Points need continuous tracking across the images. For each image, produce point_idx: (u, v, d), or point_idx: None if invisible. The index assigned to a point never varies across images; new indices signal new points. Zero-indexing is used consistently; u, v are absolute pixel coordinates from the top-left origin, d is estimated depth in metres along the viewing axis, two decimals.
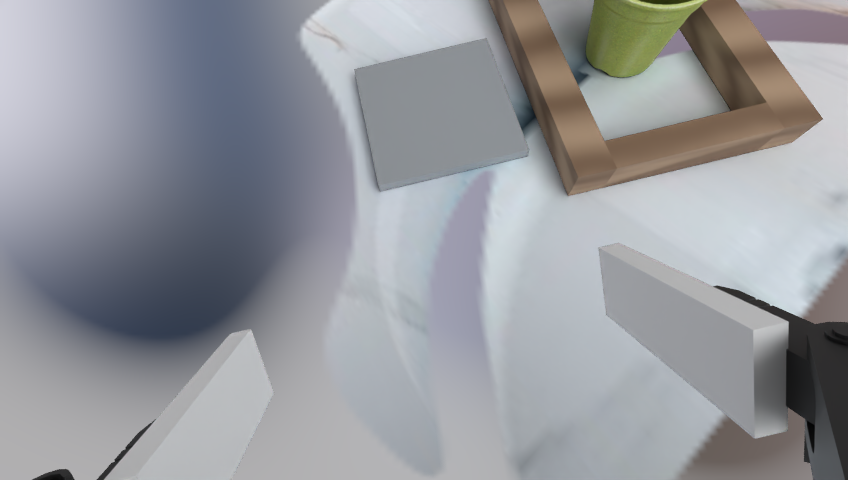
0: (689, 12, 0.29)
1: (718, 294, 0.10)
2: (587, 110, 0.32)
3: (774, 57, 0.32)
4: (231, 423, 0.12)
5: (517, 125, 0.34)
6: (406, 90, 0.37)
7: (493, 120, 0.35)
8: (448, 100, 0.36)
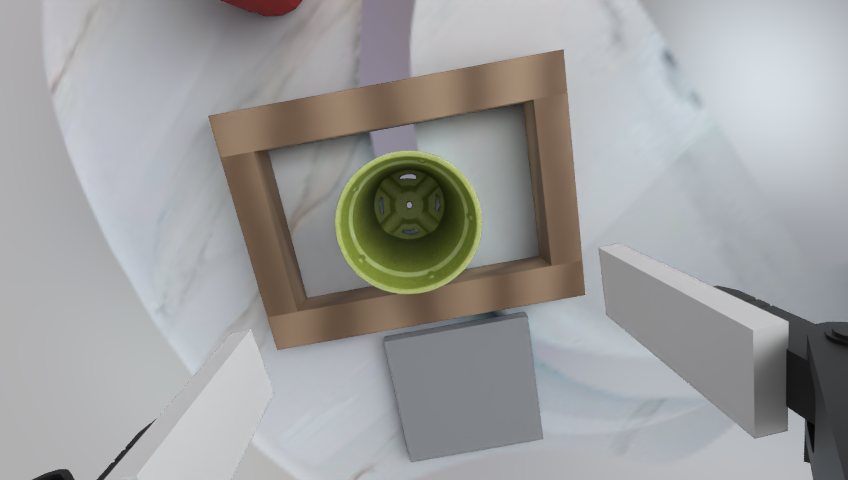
0: (466, 195, 0.27)
1: (718, 294, 0.10)
2: (514, 274, 0.33)
3: (476, 69, 0.29)
4: (231, 423, 0.12)
5: (499, 323, 0.36)
6: (443, 417, 0.38)
7: (490, 343, 0.36)
8: (460, 381, 0.37)
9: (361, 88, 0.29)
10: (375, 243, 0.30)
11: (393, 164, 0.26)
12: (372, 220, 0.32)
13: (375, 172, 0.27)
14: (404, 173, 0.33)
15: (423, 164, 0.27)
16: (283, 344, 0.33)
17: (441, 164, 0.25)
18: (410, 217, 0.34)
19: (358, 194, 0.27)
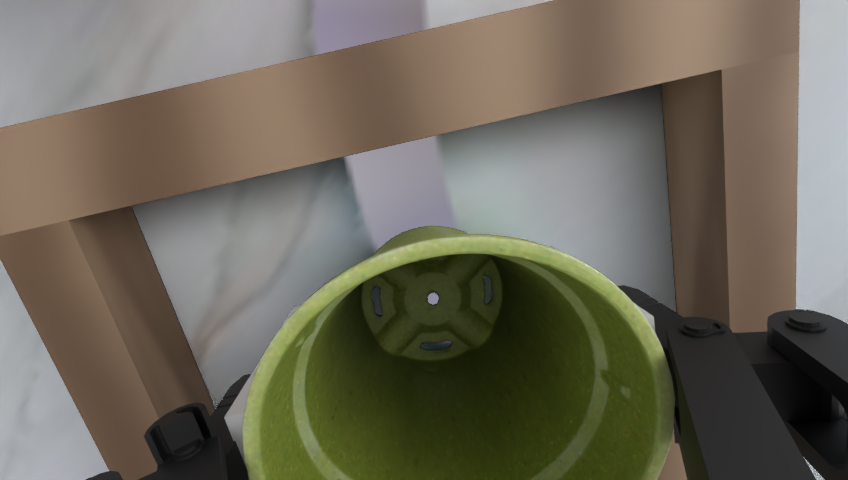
0: None
1: None
2: None
3: (592, 1, 0.12)
4: None
5: None
6: None
7: None
8: None
9: (315, 58, 0.12)
10: (368, 409, 0.14)
11: None
12: (359, 341, 0.15)
13: None
14: None
15: None
16: None
17: (563, 271, 0.08)
18: (435, 320, 0.17)
19: (316, 337, 0.10)
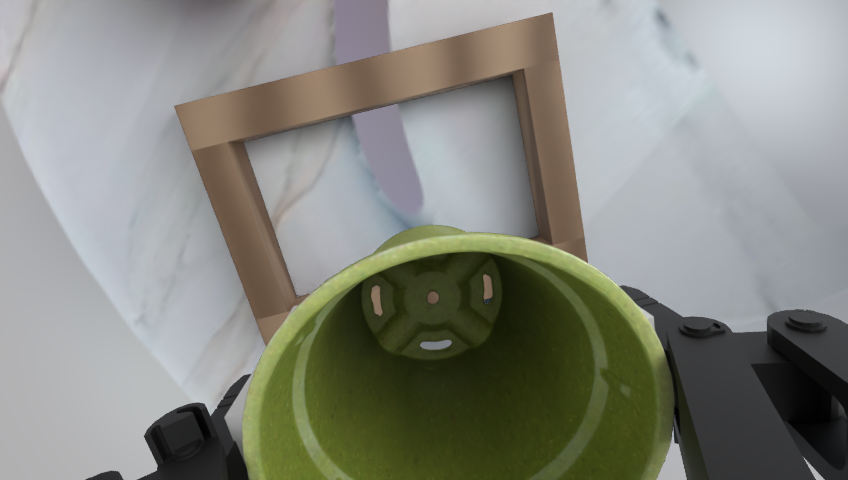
0: None
1: None
2: None
3: (461, 38, 0.27)
4: None
5: None
6: None
7: None
8: None
9: (339, 66, 0.27)
10: (368, 409, 0.14)
11: None
12: (359, 340, 0.15)
13: None
14: None
15: None
16: None
17: (563, 269, 0.08)
18: (434, 319, 0.17)
19: (316, 335, 0.10)
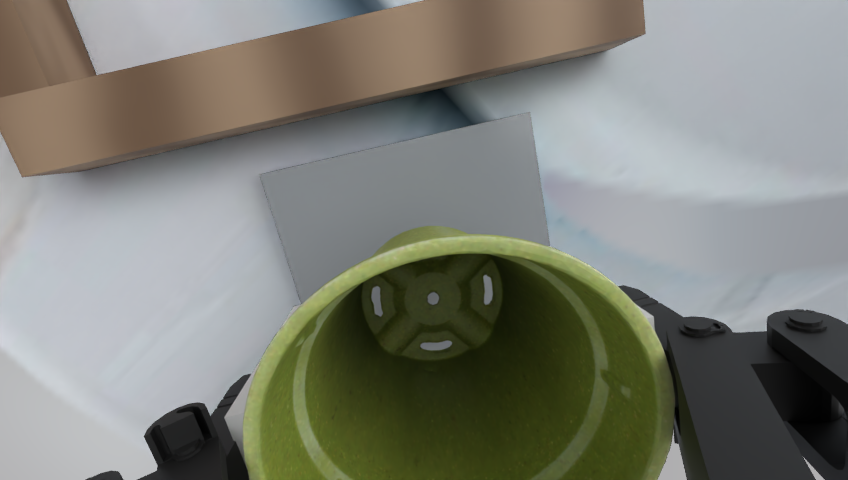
0: None
1: None
2: None
3: None
4: None
5: (477, 128, 0.19)
6: None
7: (462, 172, 0.19)
8: None
9: None
10: (368, 409, 0.14)
11: None
12: (359, 340, 0.15)
13: None
14: None
15: None
16: (33, 164, 0.16)
17: (563, 271, 0.08)
18: (435, 320, 0.17)
19: (316, 336, 0.10)
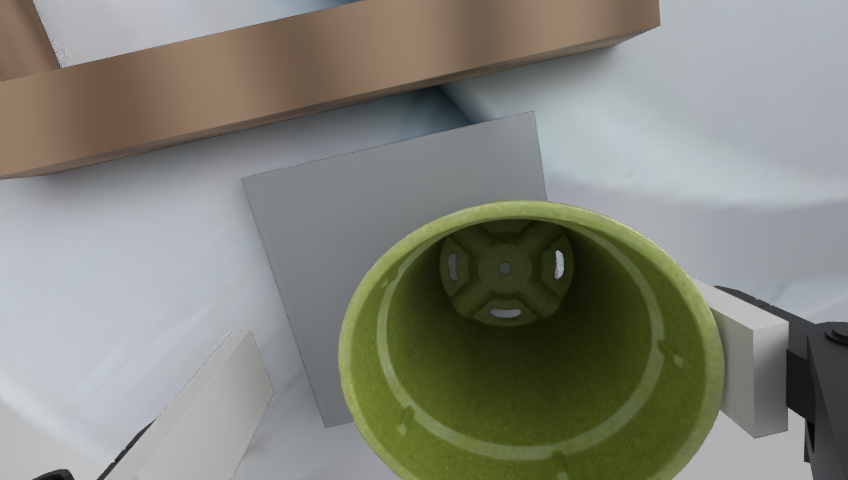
0: None
1: (718, 294, 0.10)
2: None
3: None
4: (231, 423, 0.12)
5: (477, 128, 0.17)
6: None
7: (461, 175, 0.18)
8: None
9: None
10: (438, 357, 0.15)
11: (478, 222, 0.11)
12: (435, 299, 0.17)
13: (435, 240, 0.11)
14: None
15: (553, 222, 0.11)
16: None
17: (615, 238, 0.09)
18: (506, 289, 0.18)
19: (398, 284, 0.12)
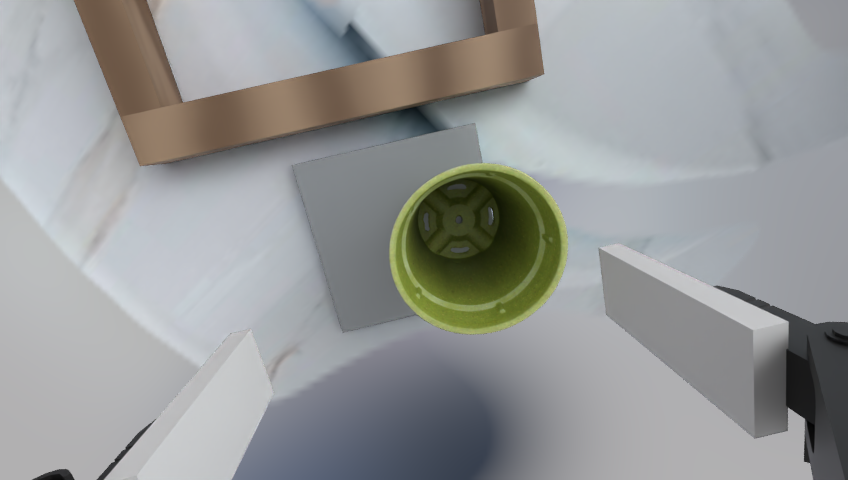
0: (544, 213, 0.22)
1: (718, 294, 0.10)
2: (450, 45, 0.25)
3: None
4: (231, 423, 0.12)
5: (439, 134, 0.28)
6: (378, 268, 0.30)
7: (430, 163, 0.28)
8: (396, 217, 0.29)
9: None
10: (426, 269, 0.26)
11: (454, 178, 0.22)
12: (418, 240, 0.28)
13: (433, 189, 0.22)
14: (452, 183, 0.28)
15: (490, 177, 0.22)
16: (147, 157, 0.25)
17: (519, 178, 0.20)
18: (459, 233, 0.29)
19: (411, 216, 0.22)
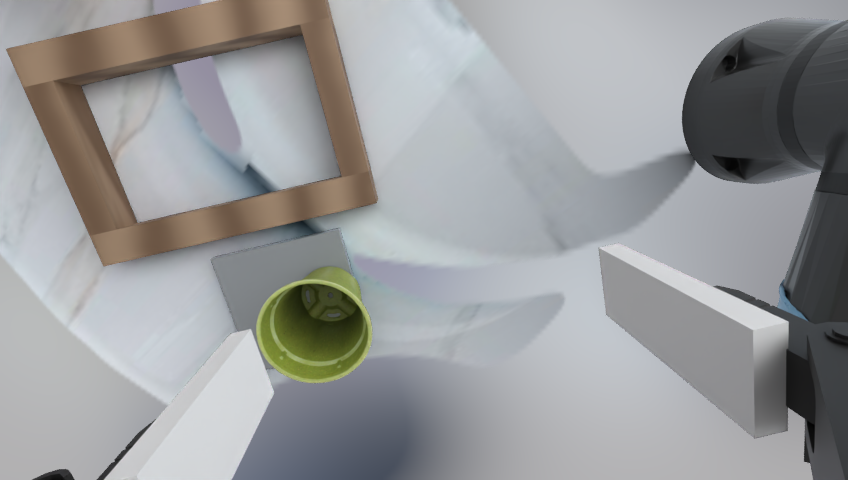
0: None
1: (718, 294, 0.10)
2: (309, 186, 0.37)
3: None
4: (231, 423, 0.12)
5: (313, 237, 0.40)
6: None
7: (308, 257, 0.40)
8: None
9: (142, 19, 0.33)
10: (299, 334, 0.38)
11: None
12: (298, 311, 0.40)
13: (288, 289, 0.34)
14: None
15: None
16: (108, 260, 0.37)
17: (335, 287, 0.32)
18: (332, 304, 0.41)
19: (277, 305, 0.34)
